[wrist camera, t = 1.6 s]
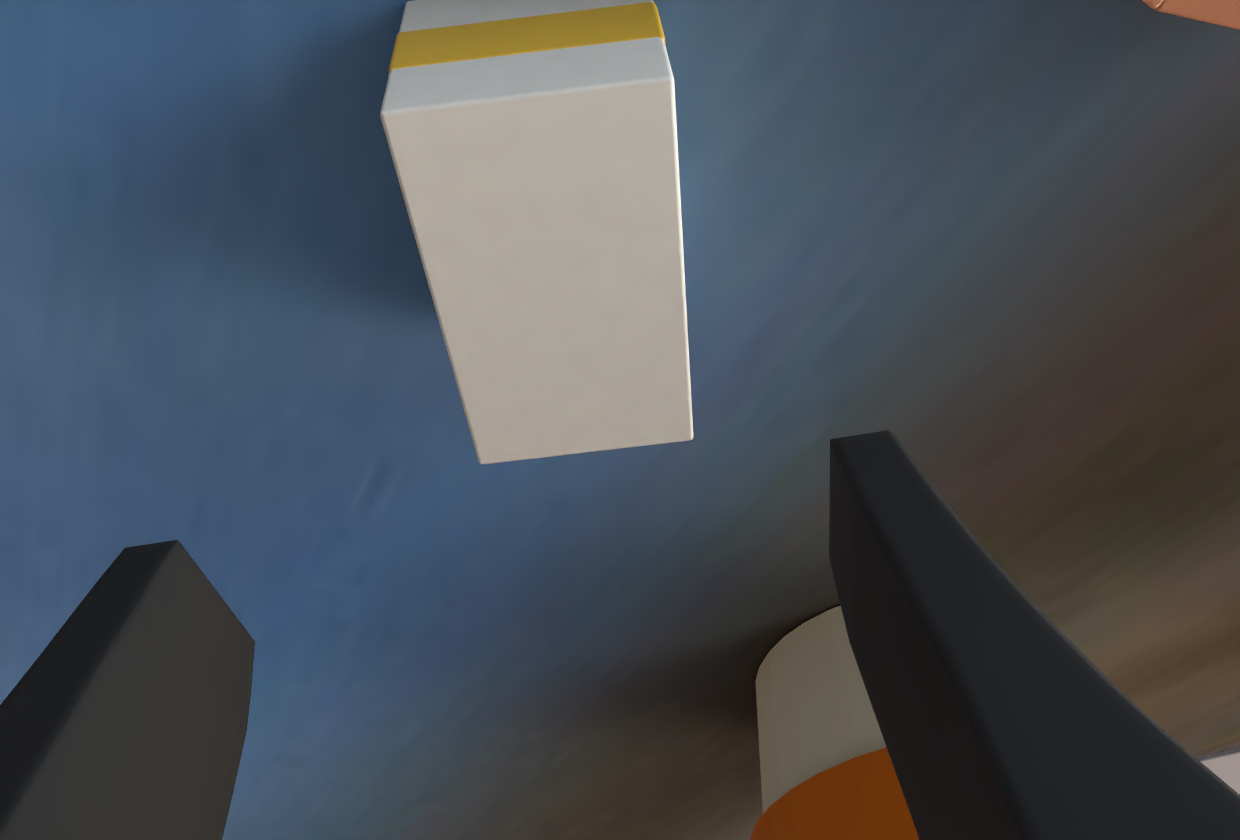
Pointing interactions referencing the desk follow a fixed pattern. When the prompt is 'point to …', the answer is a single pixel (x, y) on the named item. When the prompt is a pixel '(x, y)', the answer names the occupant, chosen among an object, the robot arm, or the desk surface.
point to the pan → (1201, 10)
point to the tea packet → (547, 217)
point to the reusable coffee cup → (823, 744)
